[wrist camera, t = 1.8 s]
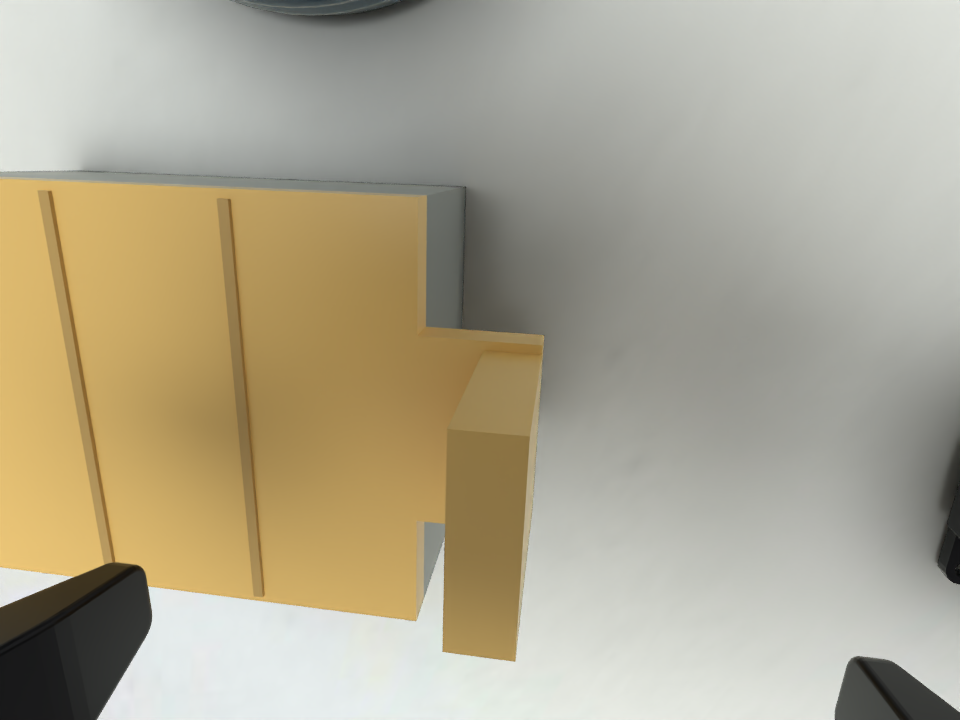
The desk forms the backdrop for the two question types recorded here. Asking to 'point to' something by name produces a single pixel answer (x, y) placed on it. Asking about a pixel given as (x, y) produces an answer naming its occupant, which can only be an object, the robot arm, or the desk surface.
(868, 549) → the desk surface
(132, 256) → the snap lid
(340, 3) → the canister
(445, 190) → the parts tub
